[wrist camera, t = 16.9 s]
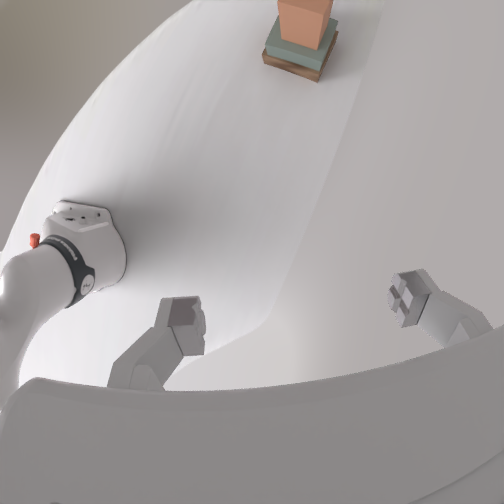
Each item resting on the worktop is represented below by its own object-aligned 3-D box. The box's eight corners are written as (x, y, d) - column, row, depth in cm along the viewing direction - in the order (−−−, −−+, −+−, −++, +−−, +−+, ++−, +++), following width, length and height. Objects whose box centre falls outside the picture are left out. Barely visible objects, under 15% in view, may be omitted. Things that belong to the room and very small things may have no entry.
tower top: (267, 54, 34) (264, 44, 30) (284, 16, 32) (283, 4, 28) (319, 71, 34) (321, 62, 30) (334, 32, 32) (338, 20, 28)
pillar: (281, 39, 30) (277, 1, 20) (293, 14, 28) (292, -26, 19) (316, 50, 30) (323, 15, 20) (327, 25, 28) (336, -13, 19)
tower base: (264, 63, 38) (261, 54, 34) (284, 23, 35) (283, 12, 32) (317, 82, 38) (319, 75, 34) (335, 41, 35) (338, 31, 31)
